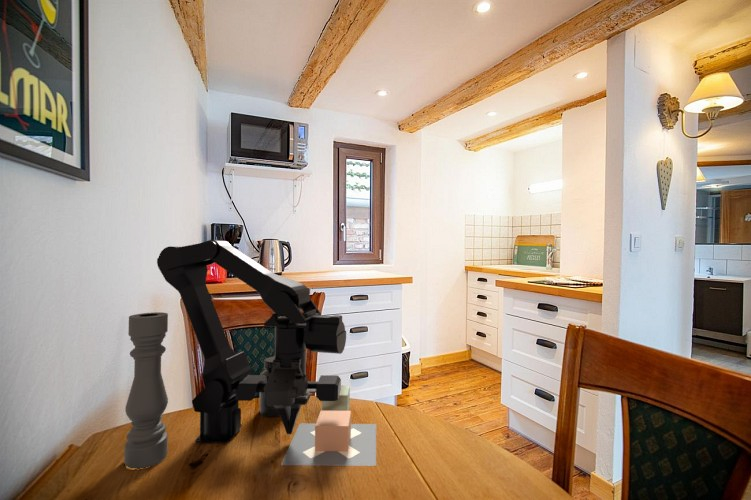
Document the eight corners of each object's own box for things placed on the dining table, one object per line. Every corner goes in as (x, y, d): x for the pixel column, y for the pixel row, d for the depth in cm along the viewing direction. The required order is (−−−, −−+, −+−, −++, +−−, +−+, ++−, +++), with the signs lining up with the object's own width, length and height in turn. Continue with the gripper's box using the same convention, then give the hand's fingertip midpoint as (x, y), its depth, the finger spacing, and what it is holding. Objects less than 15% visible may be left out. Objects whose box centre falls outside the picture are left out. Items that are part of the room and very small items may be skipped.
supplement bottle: (294, 406, 79) (295, 355, 80) (284, 420, 73) (284, 364, 73) (267, 404, 80) (267, 354, 80) (253, 418, 73) (254, 363, 74)
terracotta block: (314, 451, 60) (315, 425, 60) (320, 433, 66) (320, 410, 66) (348, 451, 60) (348, 426, 60) (350, 433, 66) (351, 410, 66)
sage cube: (321, 420, 73) (322, 395, 73) (325, 409, 78) (326, 385, 78) (347, 421, 73) (347, 395, 73) (349, 409, 78) (349, 385, 78)
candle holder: (175, 450, 61) (177, 312, 61) (146, 472, 55) (149, 319, 55) (146, 447, 62) (148, 311, 62) (114, 468, 56) (117, 317, 56)
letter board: (280, 467, 56) (280, 464, 56) (299, 425, 70) (299, 423, 70) (376, 468, 56) (376, 465, 56) (376, 425, 70) (376, 423, 70)
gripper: (221, 363, 56) (220, 458, 55) (334, 363, 56) (333, 459, 55) (247, 345, 67) (246, 424, 66) (341, 345, 67) (341, 425, 66)
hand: (289, 433), depth 63 cm, fingers closed
